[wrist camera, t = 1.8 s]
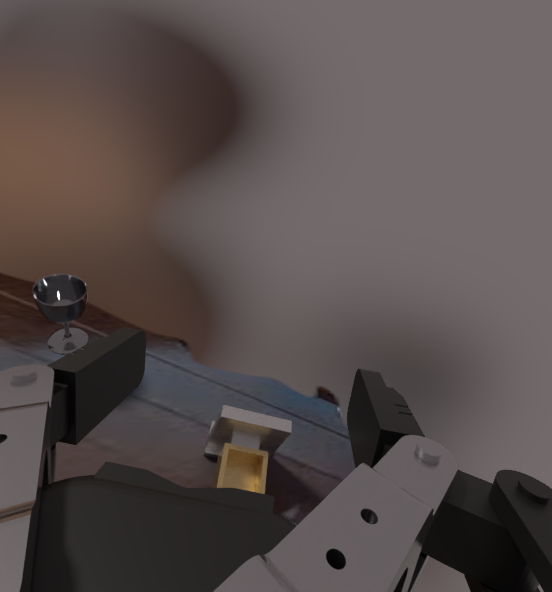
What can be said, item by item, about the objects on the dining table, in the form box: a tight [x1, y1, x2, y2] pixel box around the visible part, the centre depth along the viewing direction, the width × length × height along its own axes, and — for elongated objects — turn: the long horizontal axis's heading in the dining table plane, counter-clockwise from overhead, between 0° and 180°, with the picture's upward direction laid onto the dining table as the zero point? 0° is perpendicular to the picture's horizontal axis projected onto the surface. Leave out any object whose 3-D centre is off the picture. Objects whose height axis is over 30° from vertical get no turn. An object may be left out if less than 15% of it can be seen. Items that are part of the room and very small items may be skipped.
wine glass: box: [33, 274, 89, 354], centre depth 61 cm, size 8×8×15 cm
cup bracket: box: [204, 405, 292, 494], centre depth 54 cm, size 14×12×14 cm
